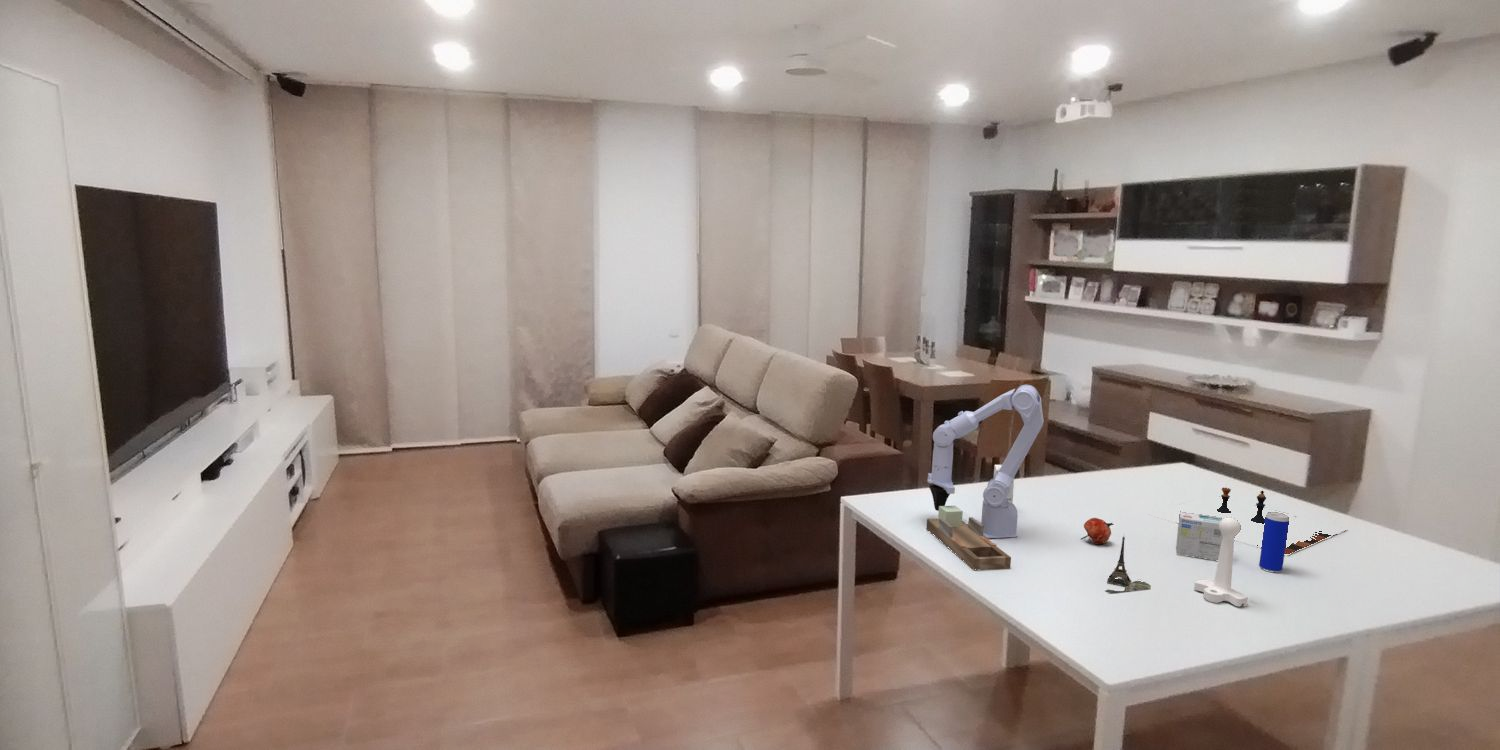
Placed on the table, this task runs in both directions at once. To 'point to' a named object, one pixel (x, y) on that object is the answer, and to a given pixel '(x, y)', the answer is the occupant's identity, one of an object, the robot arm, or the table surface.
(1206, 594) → the joystick
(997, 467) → the syrup box
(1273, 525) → the beverage can
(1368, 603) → the table surface
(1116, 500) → the table surface
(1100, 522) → the pomegranate
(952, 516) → the green block
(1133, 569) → the table surface
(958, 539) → the brown wooden long tray
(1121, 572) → the eiffel tower figurine
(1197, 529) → the light bulb box
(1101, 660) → the table surface
